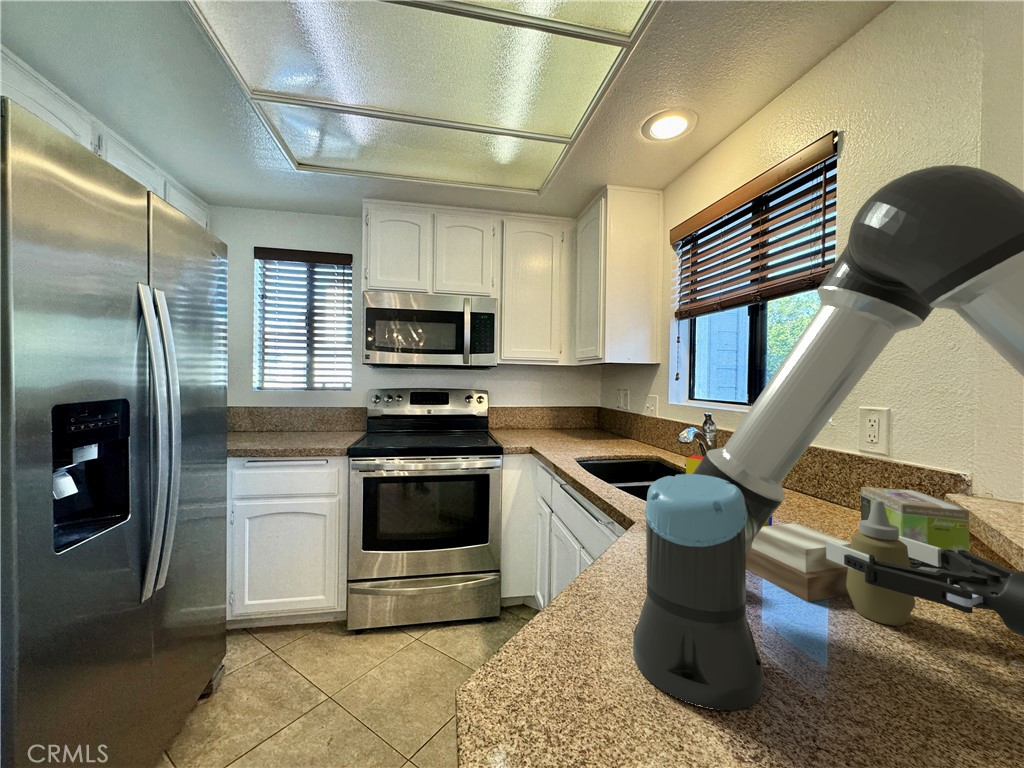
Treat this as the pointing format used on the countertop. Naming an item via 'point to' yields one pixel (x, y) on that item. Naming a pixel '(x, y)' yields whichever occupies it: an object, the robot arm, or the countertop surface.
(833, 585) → the box on wooden base
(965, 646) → the countertop surface
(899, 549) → the squeeze bottle
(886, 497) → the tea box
